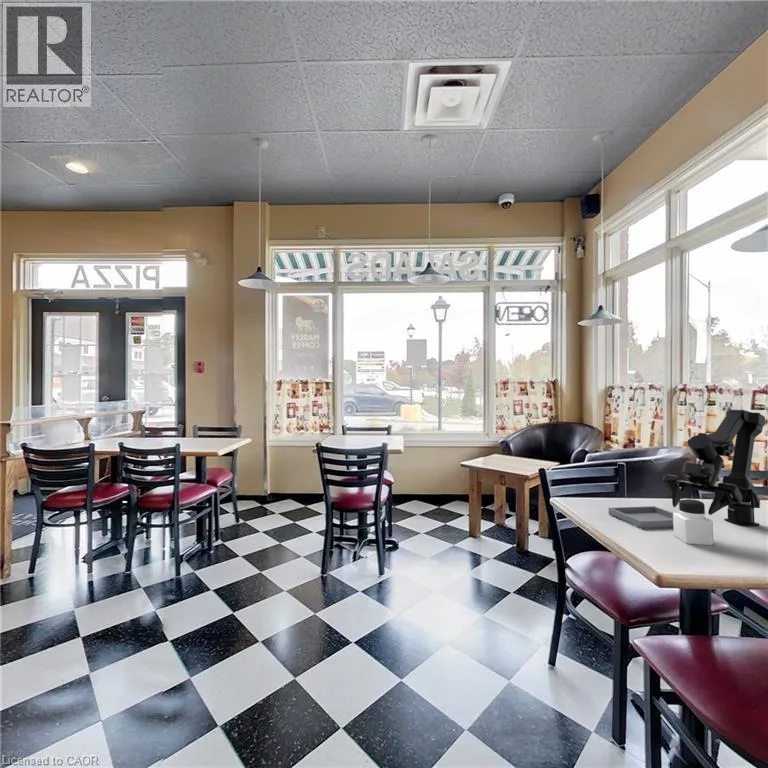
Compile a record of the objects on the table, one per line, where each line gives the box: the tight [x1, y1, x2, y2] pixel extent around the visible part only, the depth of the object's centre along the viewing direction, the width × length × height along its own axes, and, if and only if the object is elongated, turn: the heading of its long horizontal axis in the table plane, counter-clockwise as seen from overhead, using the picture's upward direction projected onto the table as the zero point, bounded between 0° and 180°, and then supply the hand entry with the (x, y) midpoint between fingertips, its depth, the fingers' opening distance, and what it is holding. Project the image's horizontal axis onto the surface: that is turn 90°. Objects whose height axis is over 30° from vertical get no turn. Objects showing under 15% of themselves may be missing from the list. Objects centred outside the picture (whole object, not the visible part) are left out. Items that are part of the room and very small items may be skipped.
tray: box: [608, 505, 674, 529], centre depth 135 cm, size 18×16×2 cm
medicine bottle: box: [672, 498, 715, 546], centre depth 116 cm, size 7×7×12 cm
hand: (691, 510), depth 116 cm, fingers open, 9 cm apart
